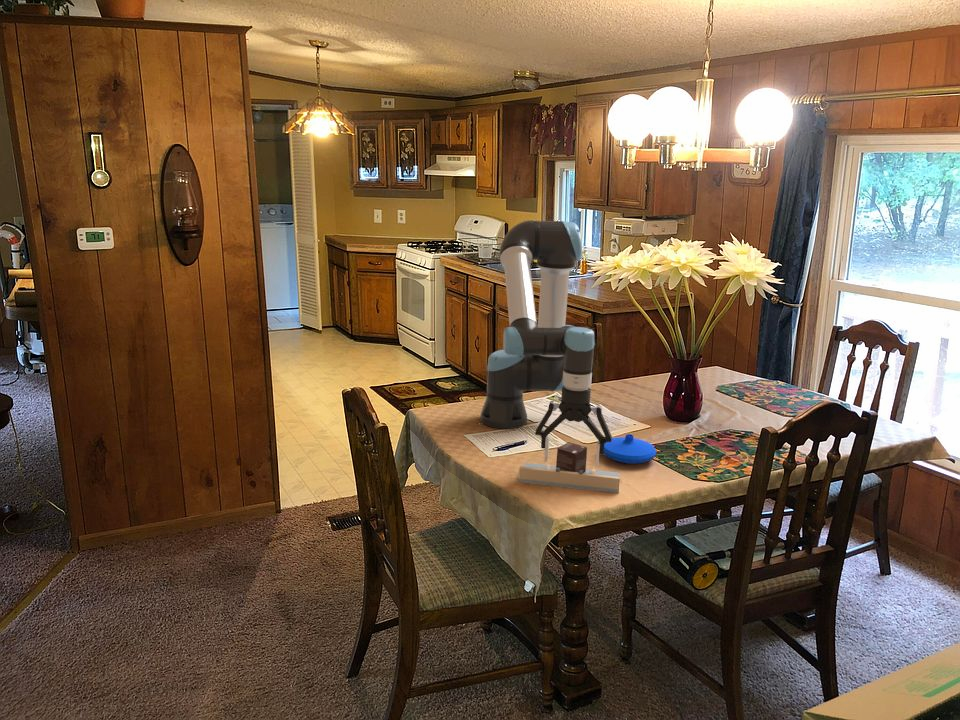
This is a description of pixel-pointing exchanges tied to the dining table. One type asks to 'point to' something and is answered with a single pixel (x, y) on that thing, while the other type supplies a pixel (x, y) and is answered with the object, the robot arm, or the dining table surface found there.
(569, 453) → the box
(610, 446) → the blue knobbed lid
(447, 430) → the dining table surface
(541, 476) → the board
